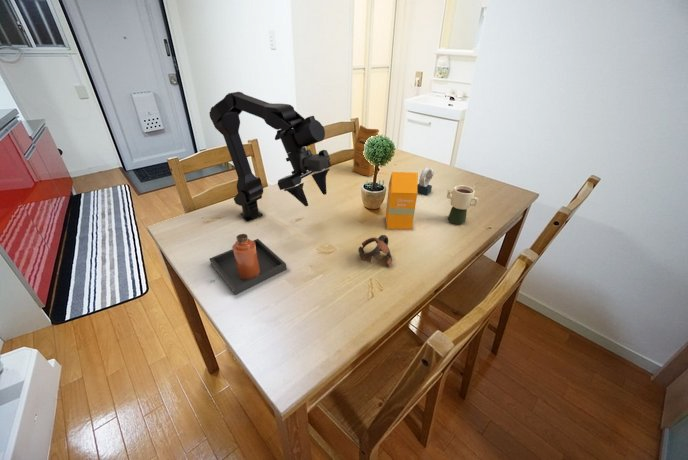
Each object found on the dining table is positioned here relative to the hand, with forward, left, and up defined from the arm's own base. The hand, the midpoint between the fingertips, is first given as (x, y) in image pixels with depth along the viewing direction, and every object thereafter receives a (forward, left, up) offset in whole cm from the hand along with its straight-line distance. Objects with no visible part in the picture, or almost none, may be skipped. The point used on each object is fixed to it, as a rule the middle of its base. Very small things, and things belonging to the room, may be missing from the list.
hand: (316, 200), depth 92 cm
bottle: (0, -25, -15) cm, 29 cm away
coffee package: (-33, +55, -16) cm, 66 cm away
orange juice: (+10, +29, -16) cm, 35 cm away
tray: (-3, -24, -16) cm, 28 cm away
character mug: (+23, +47, -16) cm, 55 cm away
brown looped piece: (+19, +8, -16) cm, 26 cm away
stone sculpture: (0, +58, -16) cm, 61 cm away
